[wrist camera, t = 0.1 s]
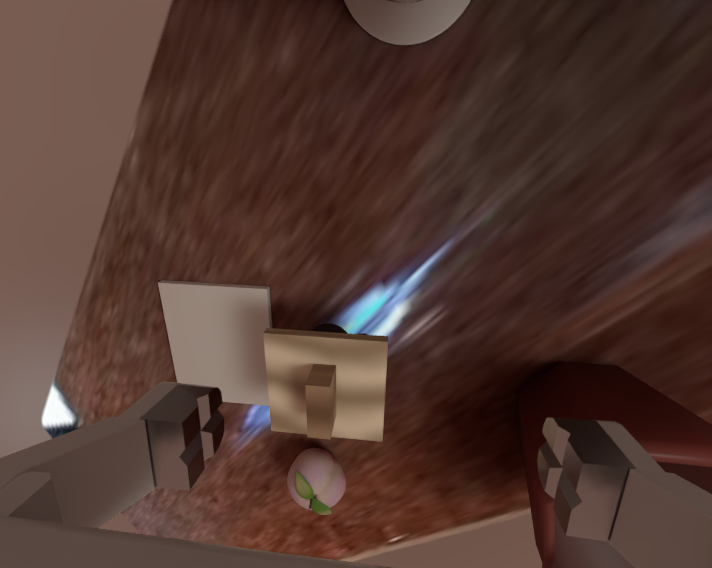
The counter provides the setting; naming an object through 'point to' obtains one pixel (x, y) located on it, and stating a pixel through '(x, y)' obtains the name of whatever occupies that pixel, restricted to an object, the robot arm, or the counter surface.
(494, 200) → the counter surface
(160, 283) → the rubber mat
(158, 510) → the counter surface
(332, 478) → the decorative fruit
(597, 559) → the bucket
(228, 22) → the counter surface
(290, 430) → the birch lid
